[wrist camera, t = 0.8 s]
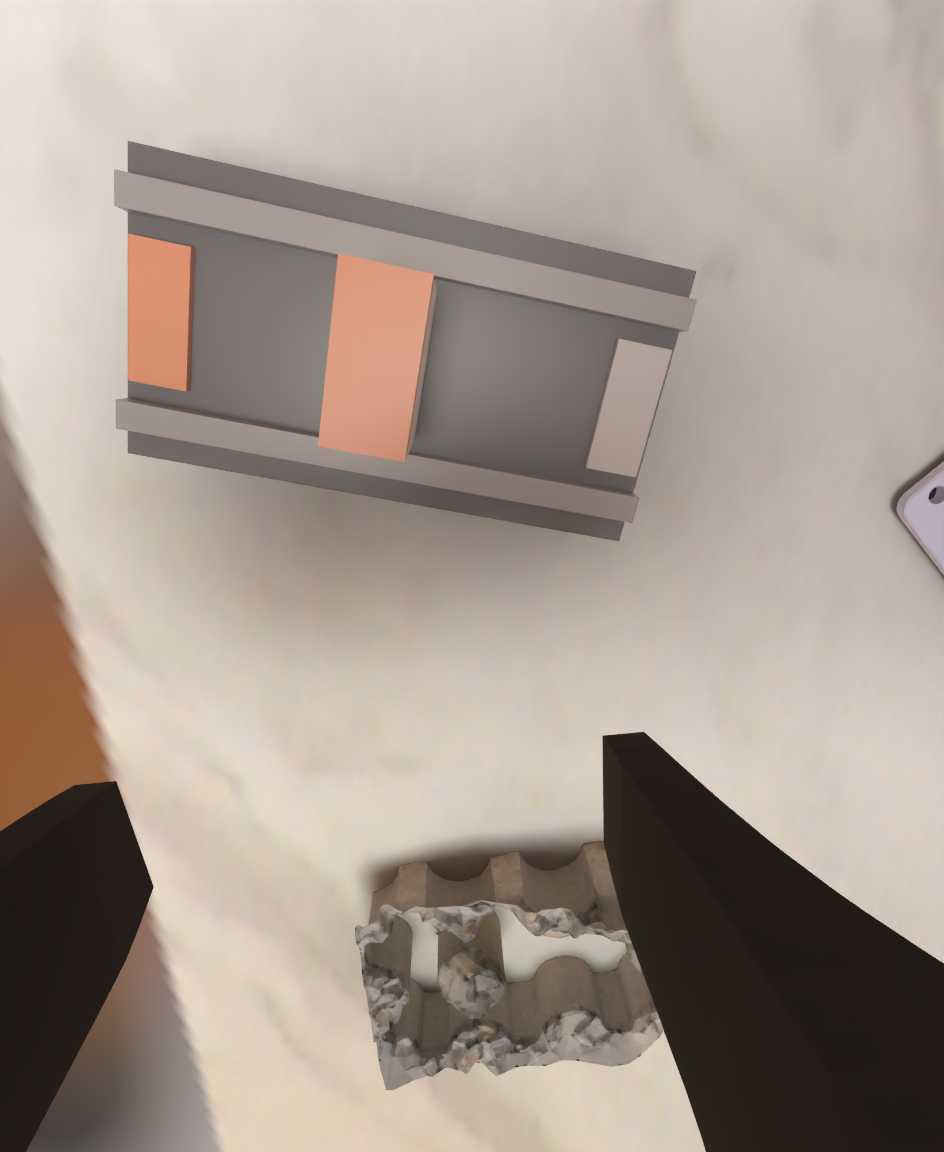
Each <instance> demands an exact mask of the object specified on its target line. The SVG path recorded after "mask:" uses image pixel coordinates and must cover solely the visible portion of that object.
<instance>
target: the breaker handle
mask: <svg viewBox="0 0 944 1152" xmlns="http://www.w3.org/2000/svg"><path fill="white" fill-rule="evenodd" d="M436 298H437V290H436V284H435V279H434V274H431V273H427V272H422V271H418V270H413V269H408V268H404V267H399V266H395V265H390V264H386V263H381V262H376V261H372V260H367V259H363V258H358V257H354V256H349V255H344V254H340V253H338V260H337V269H336V279H335V288H334V298H333V307H332V317H331V326H330V336H329V345H328V355H327V364H326V374H325V383H324V393H323V403H322V412H321V422H320V431H319V441H318V446H321V447H326V448H331V449H337V450H342V451H347V452H353V453H358V454H364V455H369V456H374V457H380V458H385V459H390V460H396V461H401V462H405V460H406V458H407V456H408V453H409V451H410V449H411V446H412V444H413V442H414V438H415V431H416V425H417V419H418V412H419V406H420V400H421V393H422V387H423V381H424V374H425V368H426V362H427V355H428V349H429V343H430V336H431V330H432V324H433V317H434V311H435V305H436Z"/></svg>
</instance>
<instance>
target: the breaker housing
mask: <svg viewBox="0 0 944 1152" xmlns="http://www.w3.org/2000/svg"><path fill="white" fill-rule="evenodd" d="M114 194H115V206H117V207H119V208H121V209H123V210H125V211H127V212H128V398H125V399H117V400H116V429H122V430H127V431H128V453H131V454H136V455H142V456H148V457H153V458H159V459H164V460H170V461H175V462H181V463H187V464H192V465H198V466H203V467H209V468H214V469H220V470H226V471H231V472H237V473H242V474H248V475H253V476H259V477H265V478H270V479H276V480H281V481H287V482H292V483H298V484H303V485H309V486H315V487H320V488H326V489H331V490H337V491H342V492H348V493H354V494H359V495H365V496H370V497H376V498H381V499H387V500H393V501H398V502H404V503H409V504H415V505H420V506H426V507H432V508H437V509H443V510H448V511H454V512H459V513H465V514H471V515H476V516H482V517H487V518H493V519H498V520H504V521H510V522H515V523H521V524H526V525H532V526H537V527H543V528H549V529H554V530H560V531H565V532H571V533H576V534H582V535H588V536H593V537H599V538H604V539H610V540H615V541H619V540H620V536H621V533H622V529H623V526H624V522H630V523H632V521H633V517H634V514H635V510H636V507H637V503H638V500H639V497H637V496H636V495H635V494H633V491H634V487H635V484H636V480H637V477H638V473H639V470H640V466H641V463H642V459H643V456H644V452H645V449H646V445H647V442H648V438H649V435H650V431H651V428H652V424H653V421H654V417H655V414H656V410H657V407H658V404H659V400H660V397H661V393H662V390H663V386H664V383H665V379H666V376H667V372H668V369H669V365H670V362H671V358H672V355H673V351H674V348H675V344H676V341H677V337H678V334H679V332H682V331H688V328H689V325H690V321H691V318H692V314H693V311H694V307H695V304H696V301H697V300H695V299H691V298H689V295H690V292H691V288H692V285H693V281H694V278H695V274H696V271H693V270H689V269H684V268H680V267H676V266H671V265H667V264H662V263H658V262H654V261H649V260H645V259H641V258H636V257H632V256H628V255H623V254H619V253H614V252H610V251H606V250H601V249H597V248H593V247H588V246H584V245H580V244H575V243H571V242H566V241H562V240H558V239H553V238H549V237H545V236H540V235H536V234H532V233H527V232H523V231H518V230H514V229H510V228H505V227H501V226H497V225H492V224H488V223H484V222H479V221H475V220H470V219H466V218H462V217H457V216H453V215H449V214H444V213H440V212H436V211H431V210H427V209H422V208H418V207H414V206H409V205H405V204H401V203H396V202H392V201H388V200H383V199H379V198H374V197H370V196H366V195H361V194H357V193H353V192H348V191H344V190H340V189H335V188H331V187H326V186H322V185H318V184H313V183H309V182H305V181H300V180H296V179H292V178H287V177H283V176H278V175H274V174H270V173H265V172H261V171H257V170H252V169H248V168H244V167H239V166H235V165H230V164H226V163H222V162H217V161H213V160H209V159H204V158H200V157H196V156H191V155H187V154H182V153H178V152H174V151H169V150H165V149H161V148H156V147H152V146H148V145H143V144H139V143H134V142H130V141H128V172H124V171H120V170H115V169H114ZM338 253H340V254H344V255H349V256H354V257H358V258H363V259H367V260H372V261H376V262H381V263H386V264H390V265H395V266H399V267H404V268H408V269H413V270H418V271H422V272H427V273H431V274H434V279H435V284H436V290H437V298H436V305H435V311H434V317H433V324H432V330H431V336H430V343H429V349H428V355H427V362H426V368H425V374H424V381H423V387H422V393H421V400H420V406H419V412H418V419H417V425H416V431H415V438H414V442H413V444H412V446H411V449H410V451H409V453H408V456H407V458H406V460H405V462H401V461H396V460H390V459H385V458H380V457H374V456H369V455H364V454H358V453H353V452H347V451H342V450H337V449H331V448H326V447H321V446H318V441H319V431H320V422H321V412H322V403H323V393H324V383H325V374H326V364H327V355H328V345H329V336H330V326H331V317H332V307H333V298H334V288H335V279H336V269H337V260H338Z"/></svg>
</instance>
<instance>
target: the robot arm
mask: <svg viewBox="0 0 944 1152" xmlns="http://www.w3.org/2000/svg"><path fill="white" fill-rule="evenodd" d="M935 487H936V489H937V491H936V494H935V496H934V497H933V498H932V499H930V500H929V498H928V497H929V494H930V492H931V491H932V489H933V488H935ZM897 513H898V516H899V517H900V519H901V520H902V521H903V523H904V524H905V525H906V527H907V528H908V529H909V531H910V532H911V533H912V535H913V536H914V537H915V539H916V540H917V541H918V543H919V544H920V545H921V546H922V548H923V549H924V550H925V552H926V553H927V554H928V556H929V557H930V558H931V560H932V561H933V562H934V564H935V565H936V566H937V568H938V569H939V570H940V571H941V573H942V574H943V575H944V461H943V462H942V463H941V464H939V465H938V466H937V467H936V468H935V469H933V470H932V471H931V472H930V473H928V474H927V475H926V476H925V477H924V478H922V479H921V480H920V481H919V482H917V483H916V484H915V485H914V486H913V487H911V488H910V489H909V490H908V491H906V492H905V493H904V494H903V495H902V496H901V498H900V499H899V501H898V504H897ZM603 809H604V847H605V851H606V855H607V859H608V863H609V867H610V872H611V876H612V880H613V884H614V888H615V891H616V895H617V899H618V903H619V907H620V911H621V914H622V917H623V920H624V923H625V926H626V928H627V931H628V934H629V937H630V939H631V942H632V945H633V948H634V950H635V953H636V956H637V959H638V961H639V964H640V967H641V970H642V972H643V975H644V978H645V981H646V983H647V986H648V989H649V991H650V994H651V997H652V1000H653V1002H654V1005H655V1008H656V1010H657V1013H658V1016H659V1019H660V1021H661V1024H662V1027H663V1029H664V1032H665V1035H666V1038H667V1040H668V1043H669V1046H670V1048H671V1051H672V1054H673V1057H674V1059H675V1062H676V1065H677V1067H678V1070H679V1073H680V1075H681V1078H682V1081H683V1084H684V1086H685V1089H686V1092H687V1095H688V1098H689V1101H690V1104H691V1107H692V1110H693V1113H694V1116H695V1119H696V1122H697V1125H698V1128H699V1131H700V1134H701V1137H702V1140H703V1143H704V1146H705V1150H706V1152H944V963H942V962H941V961H939V960H937V959H936V958H934V957H933V956H931V955H930V954H928V953H927V952H925V951H924V950H922V949H920V948H919V947H917V946H916V945H914V944H913V943H911V942H910V941H908V940H907V939H905V938H904V937H902V936H901V935H899V934H898V933H896V932H895V931H893V930H892V929H890V928H889V927H887V926H886V925H884V924H883V923H881V922H880V921H878V920H877V919H875V918H874V917H872V916H871V915H869V914H868V913H866V912H865V911H863V910H862V909H860V908H859V907H858V906H856V905H855V904H853V903H852V902H850V901H849V900H848V899H846V898H845V897H843V896H842V895H840V894H839V893H838V892H836V891H835V890H834V889H832V888H831V887H829V886H828V885H827V884H825V883H824V882H823V881H821V880H820V879H819V878H817V877H816V876H815V875H813V874H812V873H811V872H809V871H808V870H807V869H805V868H804V867H803V866H801V865H800V864H799V863H797V862H796V861H795V860H793V859H792V858H791V857H789V856H788V855H787V854H785V853H784V852H783V851H782V850H780V849H779V848H778V847H776V846H775V845H774V844H773V843H771V842H770V841H769V840H768V839H766V838H765V837H764V836H763V835H762V834H760V833H759V832H758V831H757V830H756V829H754V828H753V827H752V826H751V825H750V824H748V823H747V822H746V821H745V820H744V819H742V818H741V817H740V816H739V815H738V814H736V813H735V812H734V811H733V810H731V809H730V808H729V807H728V806H727V805H726V804H724V803H723V802H722V801H721V800H720V799H719V798H717V797H716V796H715V795H714V794H713V793H712V792H710V791H709V790H708V789H707V788H706V787H705V786H704V785H703V784H701V783H700V782H699V781H698V780H697V779H696V778H695V777H694V776H692V775H691V774H690V773H689V772H688V771H687V770H686V769H685V768H684V767H682V766H681V765H680V764H679V763H678V762H677V761H676V760H675V759H674V758H672V757H671V756H670V755H669V754H668V753H667V752H666V751H665V750H664V749H663V748H661V747H660V746H659V745H658V744H657V743H656V742H655V741H654V740H652V739H651V738H650V737H649V736H648V735H647V734H646V733H644V732H638V733H628V734H617V735H606V736H603ZM152 890H153V884H152V881H151V878H150V876H149V873H148V870H147V867H146V864H145V861H144V859H143V856H142V853H141V850H140V847H139V845H138V842H137V839H136V836H135V833H134V830H133V828H132V825H131V822H130V819H129V816H128V813H127V811H126V808H125V805H124V802H123V799H122V797H121V794H120V791H119V788H118V785H117V782H116V781H114V782H103V783H92V784H81V785H75V786H73V787H71V788H69V789H67V790H65V791H64V792H62V793H60V794H59V795H57V796H55V797H53V798H52V799H50V800H48V801H47V802H45V803H43V804H42V805H40V806H39V807H37V808H36V809H34V810H32V811H31V812H30V813H28V814H26V815H25V816H23V817H21V818H20V819H18V820H17V821H15V822H14V823H12V824H11V825H9V826H8V827H6V828H5V829H3V830H2V831H0V1152H26V1150H27V1149H28V1147H29V1145H30V1143H31V1141H32V1139H33V1137H34V1135H35V1133H36V1131H37V1130H38V1128H39V1126H40V1124H41V1122H42V1120H43V1118H44V1116H45V1114H46V1112H47V1111H48V1109H49V1107H50V1105H51V1103H52V1101H53V1099H54V1097H55V1095H56V1094H57V1092H58V1090H59V1088H60V1086H61V1084H62V1082H63V1080H64V1078H65V1076H66V1075H67V1073H68V1071H69V1069H70V1067H71V1065H72V1063H73V1061H74V1059H75V1058H76V1056H77V1054H78V1052H79V1050H80V1048H81V1046H82V1044H83V1042H84V1040H85V1039H86V1037H87V1035H88V1033H89V1031H90V1029H91V1027H92V1025H93V1023H94V1021H95V1019H96V1018H97V1016H98V1014H99V1012H100V1010H101V1007H102V1006H103V1004H104V1002H105V1000H106V998H107V996H108V994H109V992H110V990H111V989H112V986H113V985H114V983H115V981H116V979H117V977H118V975H119V973H120V970H121V969H122V967H123V965H124V963H125V961H126V958H127V956H128V953H129V951H130V948H131V945H132V943H133V941H134V938H135V936H136V933H137V931H138V928H139V926H140V923H141V920H142V917H143V915H144V912H145V909H146V906H147V904H148V901H149V898H150V895H151V893H152Z"/></svg>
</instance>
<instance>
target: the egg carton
mask: <svg viewBox="0 0 944 1152" xmlns="http://www.w3.org/2000/svg"><path fill="white" fill-rule="evenodd" d="M495 905H498V906H501V907H503V908H506V909H509V910H510V911H512V912H513V913H514V914H515V915H516V917H517V918H518V920H519V921H520V922H521V923H522V924H523V925H524V926H525V927H526V928H527V929H528V930H529V931H530V932H531V933H532V934H534V935H535V936H541V935H543V936H548V937H556V938H563V937H566V936H569V935H571V936H572V937H573V938H578V937H579V935H582V934H584V933H587V934H597V935H602V936H605V937H606V938H608V939H610V940H612V941H620V942H623V943H625V945H626V948H627V952H628V953H626V954H625V955H624V956H623V957H622V959H621V960H620V962H619V965H618V968H617V970H615V971H611V972H604V973H592V971H591V968H590V966H589V965H588V964H587V963H586V962H585V961H583V960H582V959H579V958H577V957H572V956H560V957H555V958H552V959H550V960H547V961H546V962H544V963H543V964H541V965H540V967H539V968H538V969H537V970H536V973H535V975H534V978H533V980H531V981H526V982H517V983H508V982H507V980H506V978H505V974H504V964H503V953H502V942H501V931H500V924H499V920H498V917H497V915H496V913H495V912H494V908H495ZM408 912H415V913H420V914H421V918H422V922H431V923H432V925H433V926H434V927H435V928H436V929H437V930H438V931H439V932H438V933H436V934H438V935H439V938H438V982H439V988H440V991H439V992H430V993H426V992H424V991H423V989H422V987H421V986H420V985H419V984H418V983H417V982H416V981H414V980H413V979H411V978H410V967H411V951H412V930H411V928H410V926H409V924H408V923H407V922H406V921H404V920H403V919H402V918H400V917H398V916H396V915H395V914H397V913H398V914H406V913H408ZM355 936H356V943H357V945H358V944H359V948H360V954H361V961H362V976H363V983H364V988H366V994H367V1001H368V1008H369V1014H370V1018H371V1024H372V1031H373V1038H374V1042H377V1049H378V1058H379V1063H380V1069H381V1072H382V1076H383V1079H384V1083H385V1087H386V1090H394V1089H396V1088H398V1087H400V1086H402V1085H405V1084H407V1083H409V1082H411V1081H413V1080H416V1079H419V1078H422V1077H425V1076H431V1077H433V1076H434V1075H436V1074H437V1073H438V1072H440V1071H441V1070H443V1069H444V1068H452V1069H455V1070H461V1071H462V1072H464V1073H465V1074H467V1073H468V1072H469V1071H470V1069H471V1068H472V1066H473V1065H474V1063H475V1062H477V1063H481V1064H484V1065H485V1066H486V1067H487V1068H488V1069H489V1070H490V1071H491V1072H492V1073H493V1074H494V1075H496V1076H499V1075H501V1074H503V1073H505V1072H507V1071H509V1070H511V1069H513V1068H515V1067H520V1066H526V1065H530V1066H546V1065H549V1064H552V1063H555V1062H558V1061H561V1060H577V1061H582V1062H588V1063H594V1064H600V1065H606V1066H618V1065H623V1064H628V1063H630V1062H632V1061H633V1060H635V1059H636V1058H638V1057H639V1056H640V1055H641V1054H642V1053H643V1052H644V1051H645V1050H647V1049H648V1048H649V1047H650V1046H651V1045H652V1044H653V1043H654V1042H655V1041H656V1040H657V1039H658V1038H659V1037H660V1035H661V1034H662V1032H663V1031H664V1029H663V1027H662V1024H661V1021H660V1019H659V1016H658V1013H657V1010H656V1008H655V1005H654V1002H653V1000H652V997H651V994H650V991H649V989H648V986H647V983H646V981H645V978H644V975H643V972H642V970H641V967H640V964H639V961H638V959H637V956H636V953H635V950H634V948H633V945H632V942H631V939H630V937H629V934H628V931H627V928H626V926H625V923H624V920H623V917H622V914H621V911H620V907H619V903H618V899H617V895H616V891H615V888H614V884H613V880H612V876H611V872H610V867H609V863H608V859H607V855H606V851H605V847H604V842H595V843H590V844H584V845H583V846H582V849H581V852H580V853H579V855H578V856H577V857H576V859H575V860H574V861H573V862H572V863H570V864H569V865H567V866H564V867H562V868H560V869H555V870H541V869H537V868H535V867H532V866H530V865H529V864H527V863H526V862H525V861H524V860H523V859H522V857H521V856H520V853H519V852H518V851H517V852H512V853H508V854H504V855H501V856H497V857H492V858H490V860H489V863H488V865H487V867H486V868H485V870H484V871H483V872H482V873H481V874H479V875H478V876H476V877H474V878H471V879H469V880H464V881H451V880H445V879H443V878H442V877H440V876H438V875H437V874H435V873H434V872H433V871H432V870H431V868H430V867H429V865H428V863H427V862H424V863H409V864H406V865H402V866H399V869H398V874H397V877H396V878H395V880H394V881H393V882H392V883H391V884H390V885H388V886H387V887H385V888H383V889H381V890H378V891H376V892H374V893H372V903H371V912H370V919H369V925H368V926H365V927H361V926H360V925H358V926H356V928H355Z"/></svg>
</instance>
